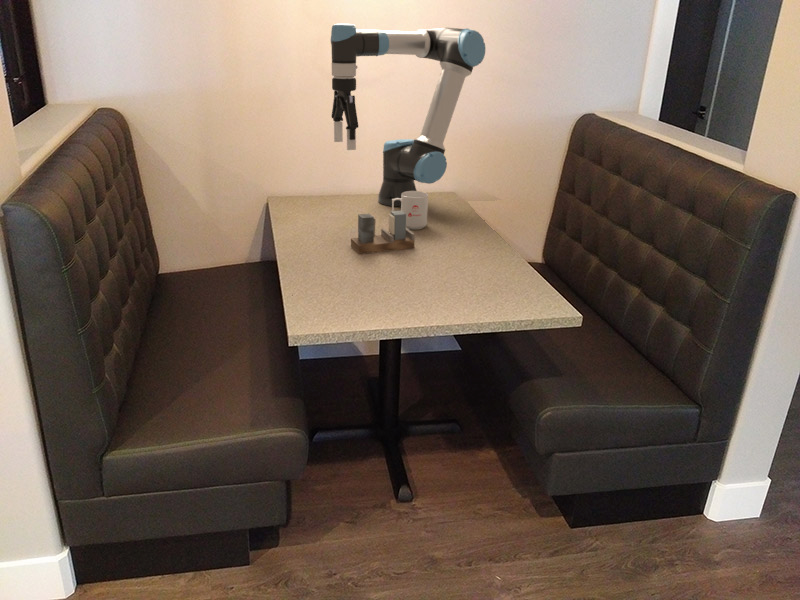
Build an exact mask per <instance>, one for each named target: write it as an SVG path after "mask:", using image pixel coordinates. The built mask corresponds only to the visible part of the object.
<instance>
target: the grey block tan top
mask: <svg viewBox="0 0 800 600" xmlns="http://www.w3.org/2000/svg"><path fill="white" fill-rule="evenodd" d="M388 232H389V233H390V234H391V235H393V236H394V240H400V239H406V214H405V213H404V212H403V211H401V210H394V211H390V212H389V214H388Z"/></svg>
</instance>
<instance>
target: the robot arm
mask: <svg viewBox="0 0 800 600" xmlns="http://www.w3.org/2000/svg"><path fill="white" fill-rule="evenodd" d="M330 33H331V34H330V47H331V76H332V78H331V87H332V88H331V89H332V90H333V102H332V110H331V119H333V140H334V141H333V142H334V143H342V142H343V139H344V137H343V135H344V133H343V121H344V118H343V115H344V117H345V121H346V127H345V130H346V150H347V151H356V150H357V145H356V143H357V139H356V138H357V135H356V134H357V132H356V130H357V128H359V121H358V115H357V107H356V96H355V95H352V93H351V92H354V91H356V90H357V78H356V76H357V69H358V65H357V57H378V56H384V55H406V56H407V55H409V56H411V55H412V56H413V55H414V56H416V57H417V58H419V59H428V60H433V61H438V62H439V65H440V67H441V72H440V75H439V78H438V81H437V84H436V87H435V91H434V92H433V96H432V99H431V103H430V105H429V108H428V111H427V115H426V117H425V119H424V123H423V126H422V129H421V132H420V135H419V136H418V137H416V138H414V139H410V138H405V139H392V140H390V139H389V140H387V141H385V142H384V144H383V151H382V158H383V159H382V160H383V161H382V164H383V165H382V168H383V169H382V176H383V177H382V183H381V186H380V189H379V193H378V196H377V197H378V203H379V204H381V205H384V206H389V207H392V199H395V198H401V194H402V193H403V192H406V191H418V190H417V187H416V184H415V181H416V182H418V183H421V184H434V183H436V182H438V181H439V180H441V178H442V177H444V175H445V173H446V169H447V167H448V166H447V165H448V162H447V158H446V155H445V153H446V152H445V151H446V148H445V146H444V141H445V138H446V136H447V133H448V130H449V127H450V123H451V121H452V118H453V115H454V112H455V109H456V107H457V103H458V100H459V98H460V95H461V91H462V88H463V86H464V83H465V79H466V78H467V77H468V76H470V75H471V74H472V72H473V70H474V68H475V67H477V66H479V64H482V62H483V60H484V58H485V55H486V43H485V41H484V37H483V35H482V34H481V33H480V32H479V31H477V30H475V29H470V28H454V27H440V28H439V27H438V28H428V29H427V28H426V29H423V28H422V29H421V28H420V29H418V30H417V31H406V30H405V31H404V30H402V31H401V30H383V29H382V30H381V29H366V28H365V29H364V28H363V29H361V28H359V29H358V28H357V26H356V25H355V24H352V23H335V24H333V25H332V27H331V32H330ZM394 207H401V201H400V200H395V201H394Z"/></svg>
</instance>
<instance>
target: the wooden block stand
mask: <svg viewBox="0 0 800 600" xmlns="http://www.w3.org/2000/svg"><path fill="white" fill-rule="evenodd" d="M357 224H358V225H357V228H358V229H357V233H358V234H357V237H351V238H350V247H352V249H354V250H355V252H357V253H358V255H363V253H365V254H372V252H374V253H380V251H381V252H382V251H383V252H388V251H389V252H391V251H398V250H399V251H400V250H406V249H407V250H408V249H415V244H416V243H415V239H416V237H415V235H416V234H415V233H414V232H413V231H412V230H411V229H407V228H406V239H400V240H394V236H393V235H391V234H390V232H389V230H387V229H385V228H381V231H380V233H381V234H380V235H379V234H377V235H376V218H375V216H373V215H372V214H370V213H361V214H359V213H358V215H357Z"/></svg>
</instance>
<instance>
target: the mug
mask: <svg viewBox="0 0 800 600" xmlns="http://www.w3.org/2000/svg"><path fill="white" fill-rule="evenodd" d="M395 200H400V201H401V206H400V211H403V212H404V213H405V214H406V228H407V229H409V230H421V229H424V228H425V227H426V226H427V224H428V206H429V203H428V202H429V194H428V193H427V192H424V191H421V190H420V191H419V190H417V191H406V192H403V193H402V194H401V198H395V199H392V206H391V208H392V209H391V210H392V211H395V206H394V201H395Z"/></svg>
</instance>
